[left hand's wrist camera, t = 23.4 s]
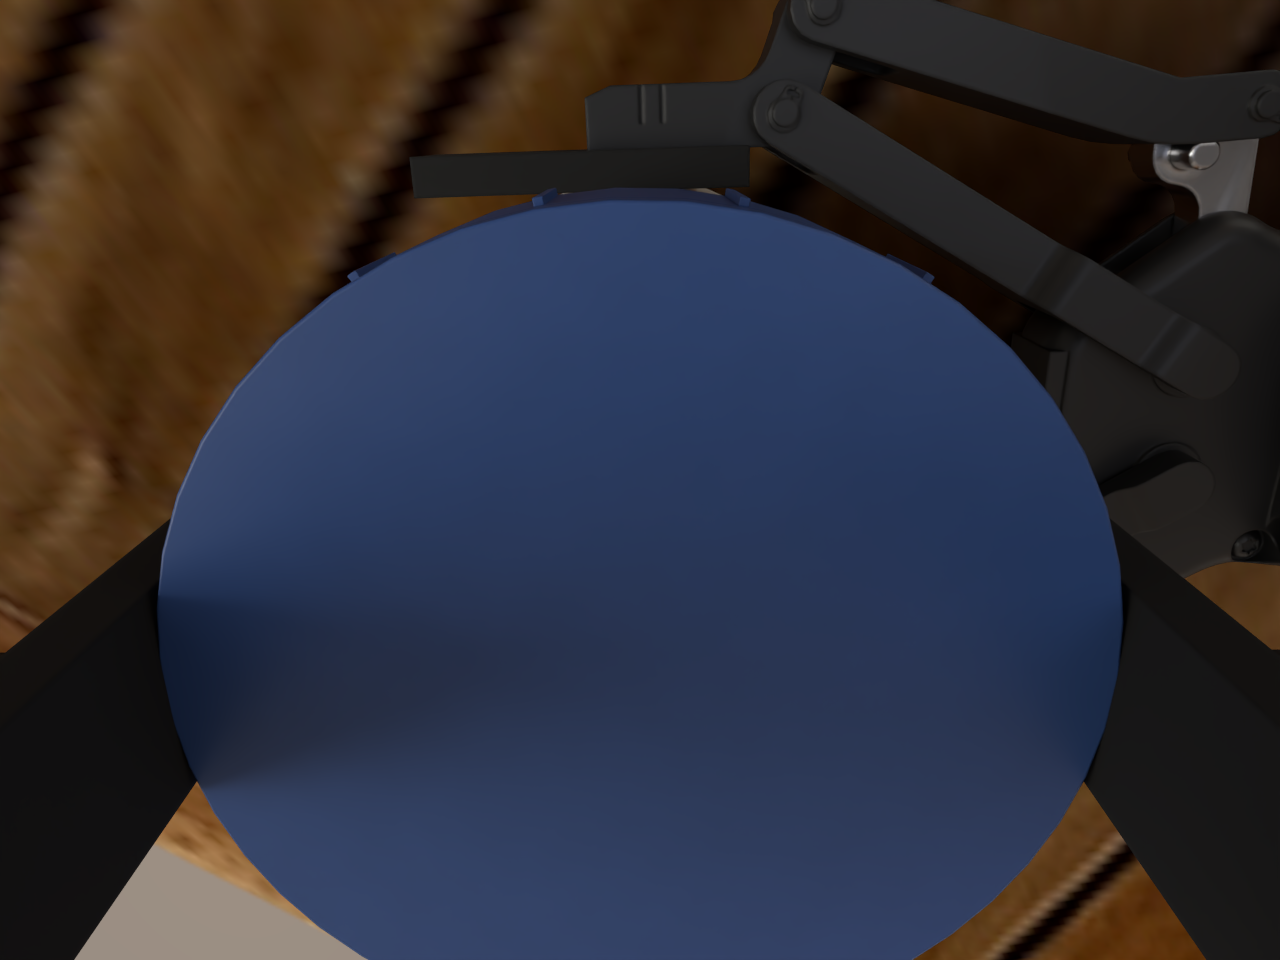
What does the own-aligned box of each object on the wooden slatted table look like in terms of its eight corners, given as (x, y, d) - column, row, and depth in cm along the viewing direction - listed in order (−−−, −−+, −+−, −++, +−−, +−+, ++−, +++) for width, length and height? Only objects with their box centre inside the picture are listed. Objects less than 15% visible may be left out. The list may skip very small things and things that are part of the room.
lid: (99, 276, 11) (-26, 308, 9) (1038, 92, 10) (1140, 82, 8) (368, 949, 15) (324, 1078, 13) (1054, 853, 14) (1124, 975, 12)
